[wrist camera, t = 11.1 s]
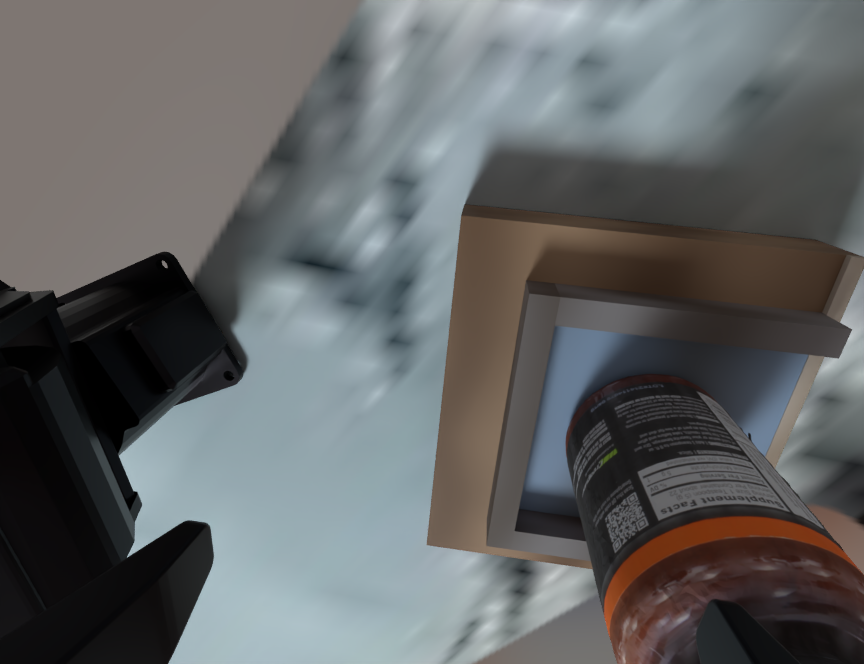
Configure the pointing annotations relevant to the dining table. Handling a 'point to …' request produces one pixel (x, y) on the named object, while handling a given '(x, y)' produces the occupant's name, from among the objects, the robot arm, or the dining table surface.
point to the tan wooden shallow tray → (611, 353)
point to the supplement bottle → (701, 529)
